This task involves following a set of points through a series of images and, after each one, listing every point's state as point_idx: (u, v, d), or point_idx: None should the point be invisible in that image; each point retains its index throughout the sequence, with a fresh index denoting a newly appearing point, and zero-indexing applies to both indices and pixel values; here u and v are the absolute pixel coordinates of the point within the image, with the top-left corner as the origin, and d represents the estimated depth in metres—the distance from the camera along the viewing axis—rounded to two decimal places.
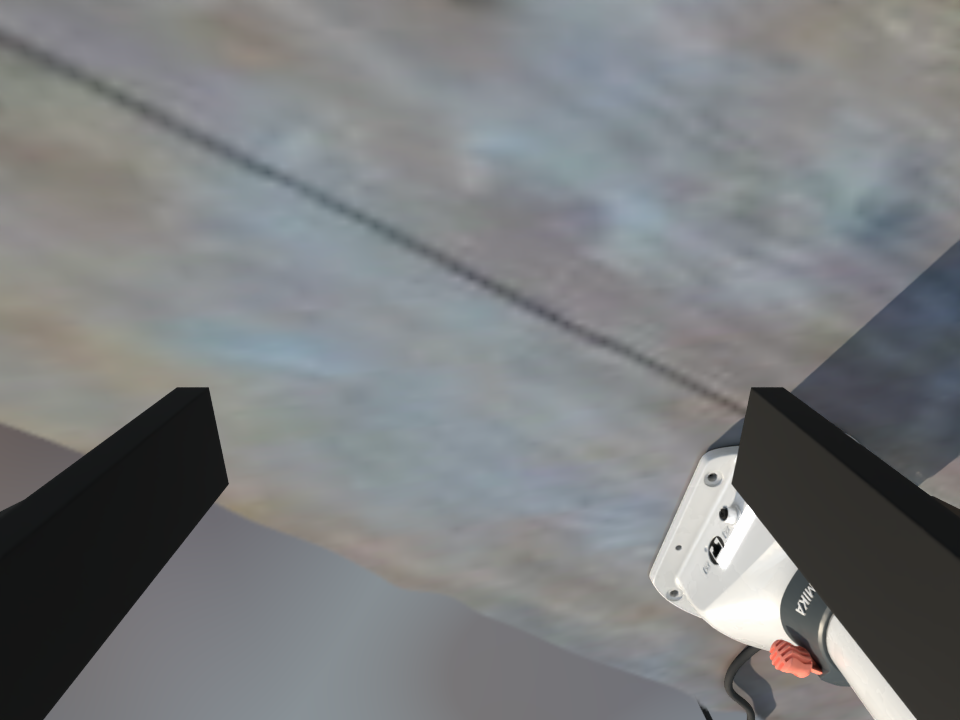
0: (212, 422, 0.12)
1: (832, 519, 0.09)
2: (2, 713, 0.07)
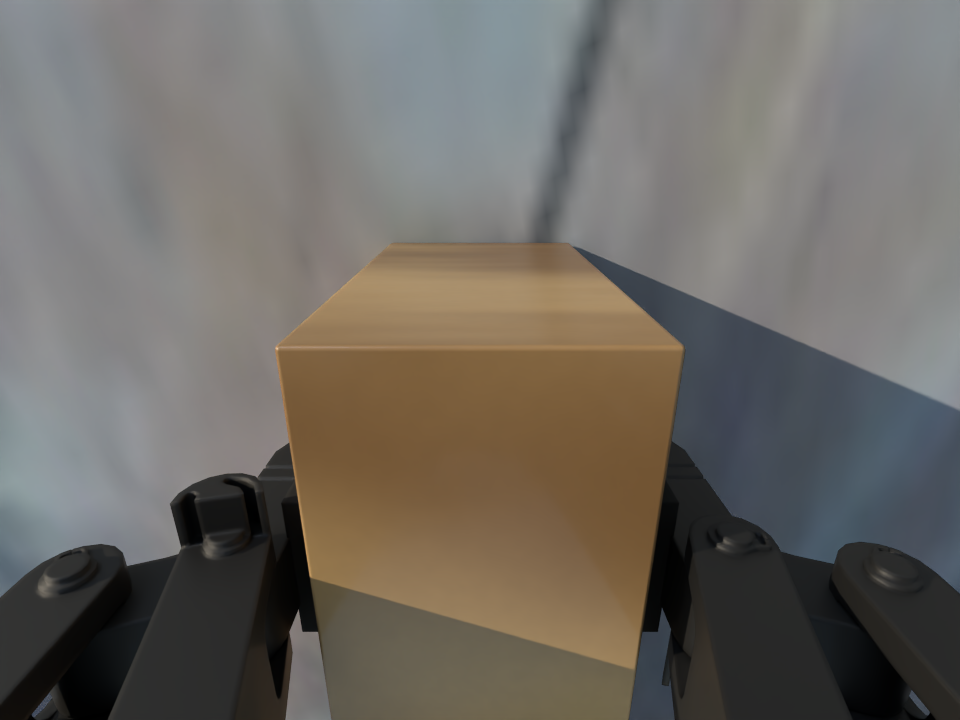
0: None
1: None
2: None
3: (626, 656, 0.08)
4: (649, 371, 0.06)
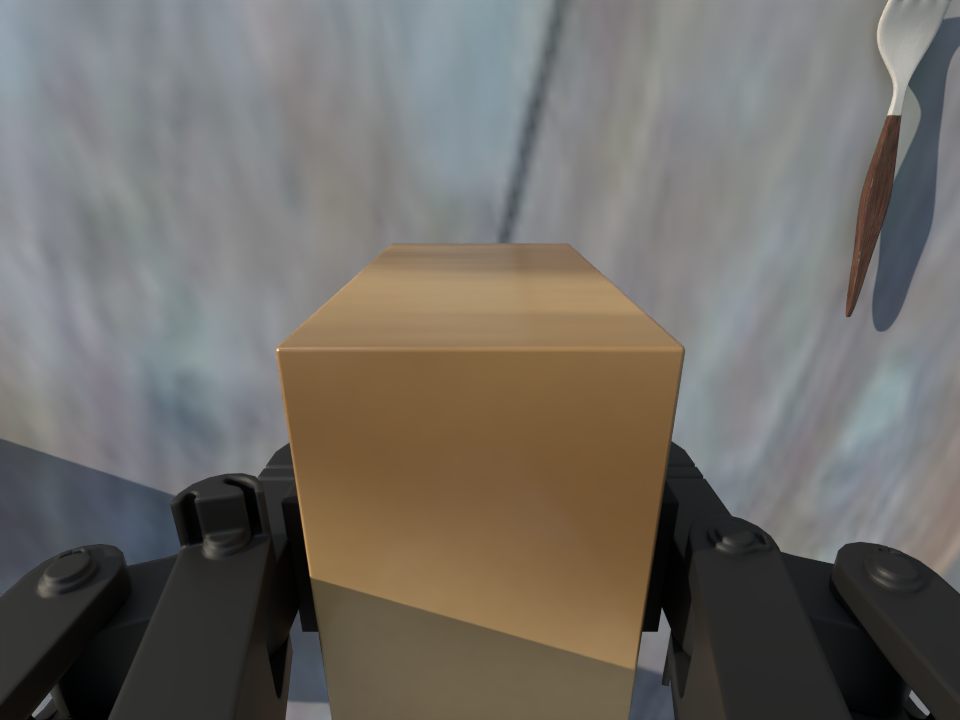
0: None
1: None
2: None
3: (626, 656, 0.08)
4: (649, 372, 0.06)
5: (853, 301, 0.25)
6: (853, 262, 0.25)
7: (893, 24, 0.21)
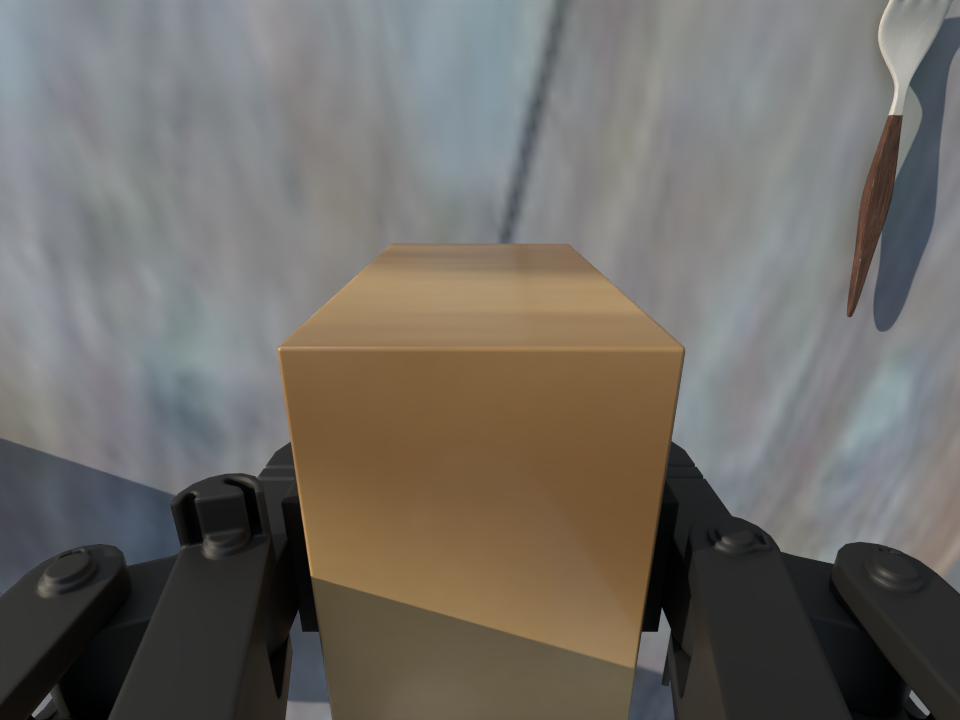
0: None
1: None
2: None
3: (626, 656, 0.08)
4: (649, 371, 0.06)
5: (854, 301, 0.25)
6: (854, 262, 0.25)
7: (894, 23, 0.21)
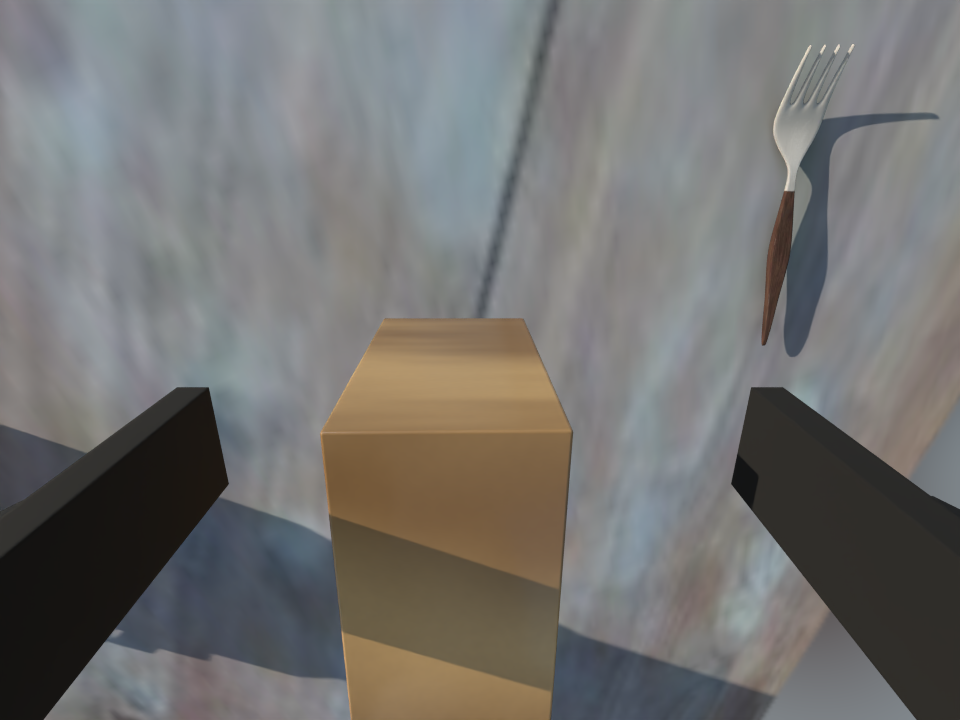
0: (212, 422, 0.12)
1: (832, 519, 0.09)
2: (2, 713, 0.07)
3: (549, 629, 0.11)
4: (551, 445, 0.10)
5: (766, 333, 0.31)
6: (765, 302, 0.31)
7: (784, 123, 0.28)
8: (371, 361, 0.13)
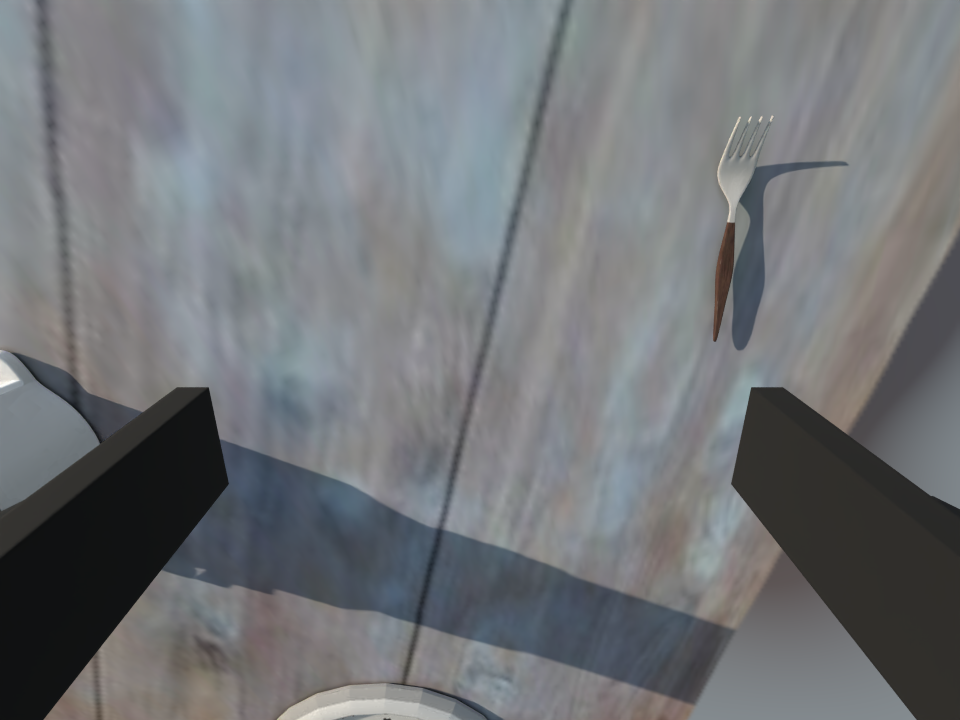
0: (212, 422, 0.12)
1: (832, 519, 0.09)
2: (2, 713, 0.07)
3: None
4: None
5: (716, 332, 0.40)
6: (715, 308, 0.39)
7: (725, 171, 0.36)
8: None
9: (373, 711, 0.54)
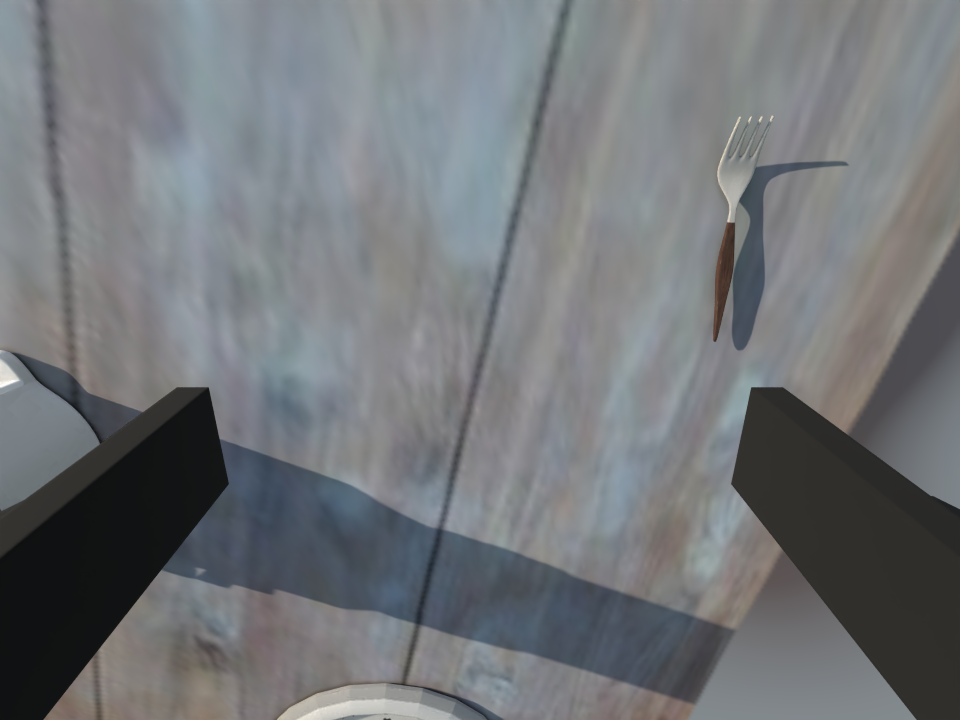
0: (212, 422, 0.12)
1: (832, 519, 0.09)
2: (2, 713, 0.07)
3: None
4: None
5: (716, 332, 0.40)
6: (715, 308, 0.39)
7: (725, 171, 0.36)
8: None
9: (373, 711, 0.54)
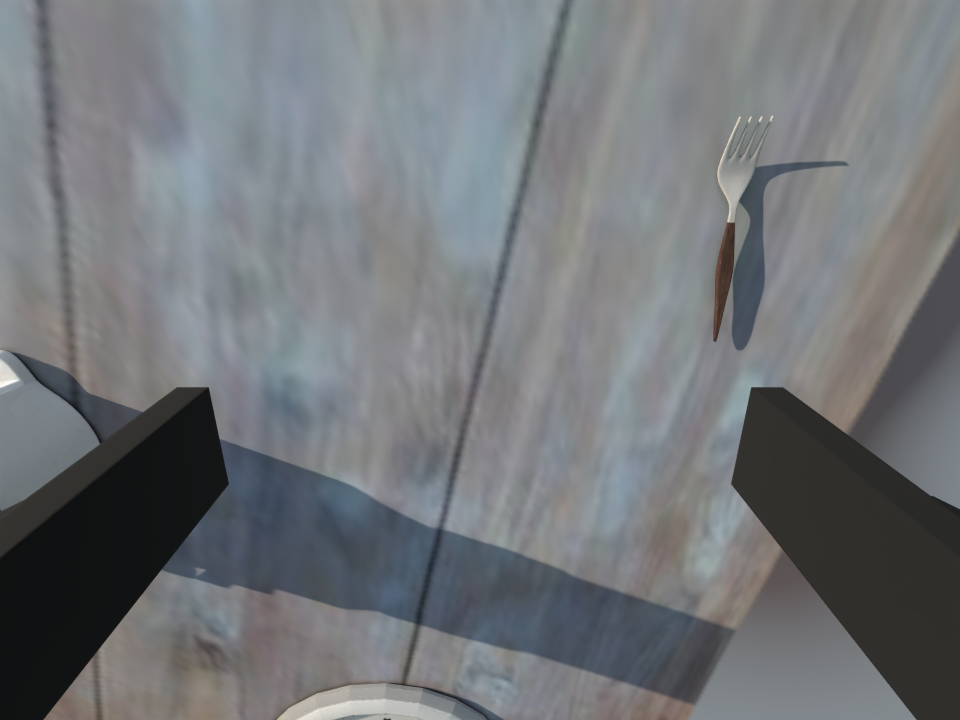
0: (212, 422, 0.12)
1: (832, 519, 0.09)
2: (2, 713, 0.07)
3: None
4: None
5: (716, 332, 0.40)
6: (715, 308, 0.39)
7: (725, 171, 0.36)
8: None
9: (373, 711, 0.54)
